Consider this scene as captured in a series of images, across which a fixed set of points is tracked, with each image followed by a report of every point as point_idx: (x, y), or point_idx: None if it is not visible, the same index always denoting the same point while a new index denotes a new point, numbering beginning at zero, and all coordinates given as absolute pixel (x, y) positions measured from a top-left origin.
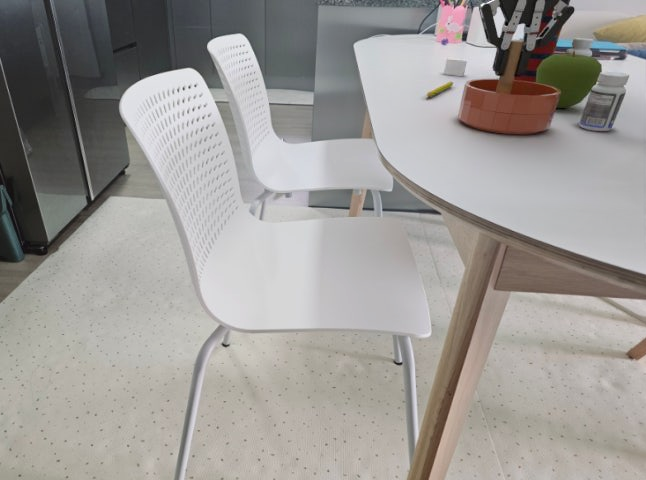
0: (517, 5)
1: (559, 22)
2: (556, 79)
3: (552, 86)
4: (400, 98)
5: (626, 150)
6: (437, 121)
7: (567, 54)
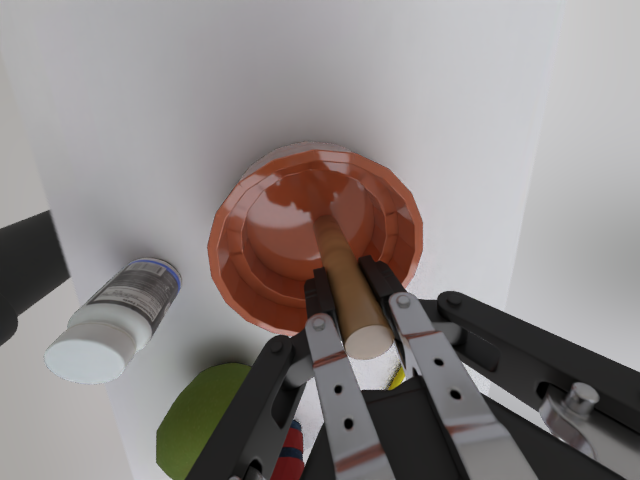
0: (518, 460)
1: (231, 441)
2: (234, 393)
3: (233, 307)
4: None
5: (55, 129)
6: (423, 195)
7: None
